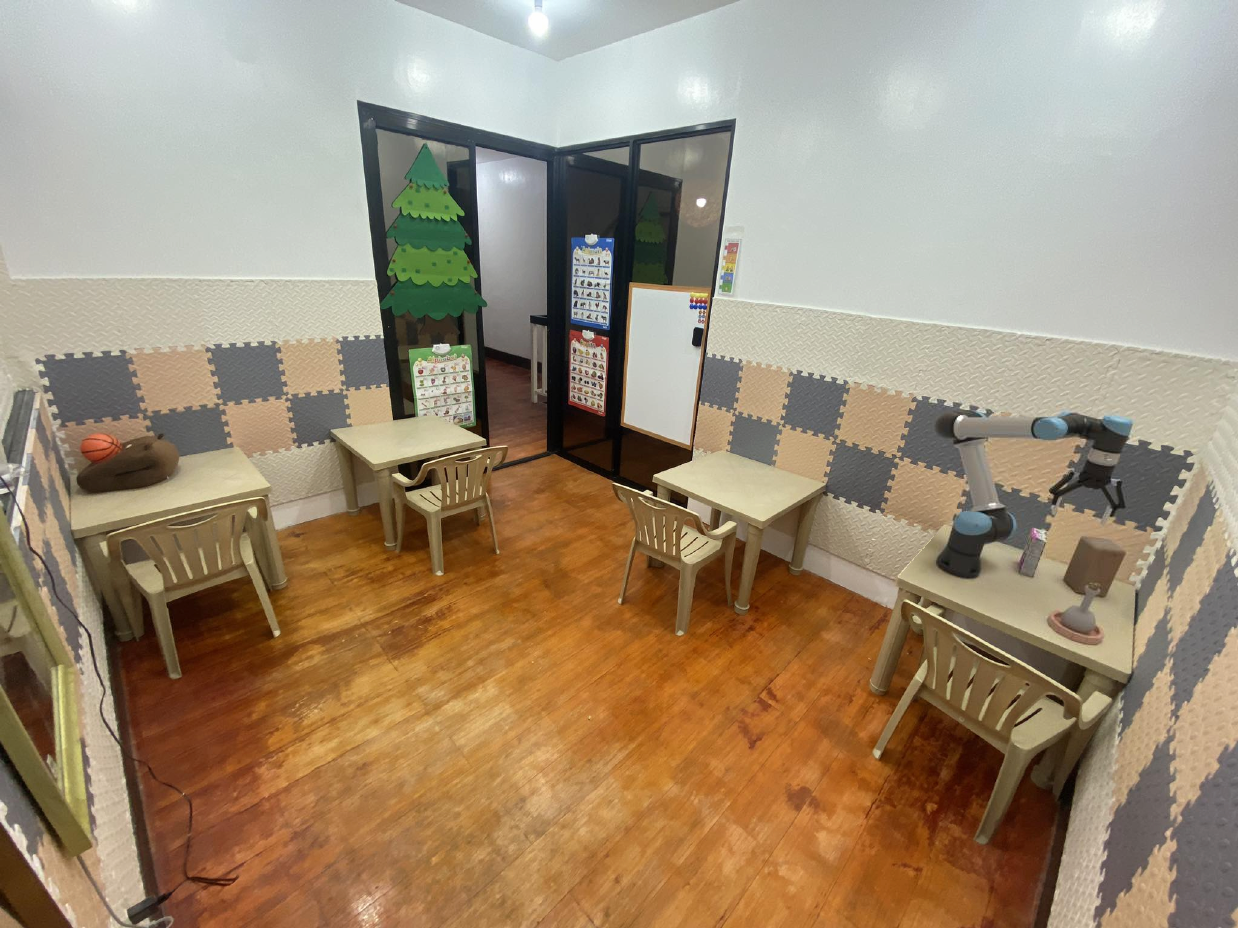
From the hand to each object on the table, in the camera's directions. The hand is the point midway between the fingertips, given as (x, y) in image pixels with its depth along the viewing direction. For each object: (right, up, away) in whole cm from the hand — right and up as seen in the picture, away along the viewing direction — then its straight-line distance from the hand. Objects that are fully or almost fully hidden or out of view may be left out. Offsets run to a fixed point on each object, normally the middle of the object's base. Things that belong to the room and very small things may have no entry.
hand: (1077, 518), depth 181 cm
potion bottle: (-6, -36, -6) cm, 37 cm away
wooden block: (+19, -29, +19) cm, 40 cm away
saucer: (-6, -37, -5) cm, 38 cm away
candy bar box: (+5, -24, +30) cm, 39 cm away
